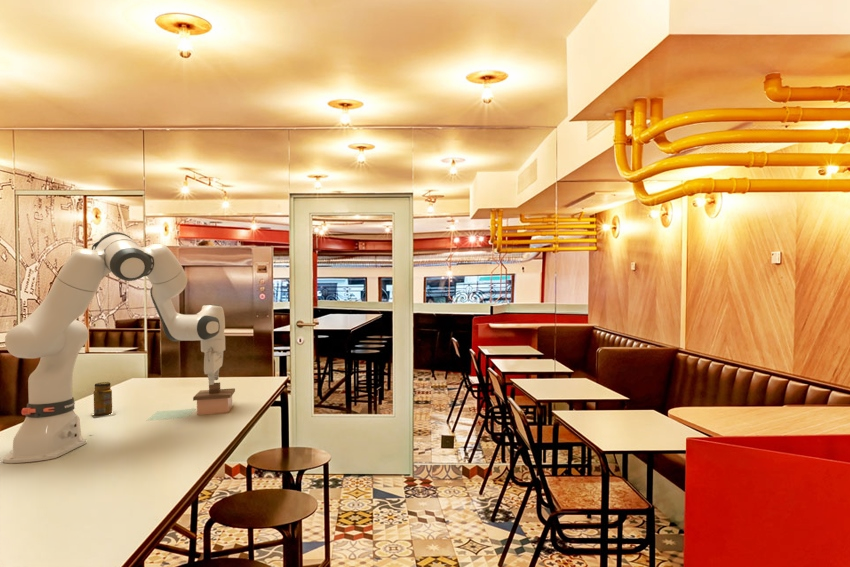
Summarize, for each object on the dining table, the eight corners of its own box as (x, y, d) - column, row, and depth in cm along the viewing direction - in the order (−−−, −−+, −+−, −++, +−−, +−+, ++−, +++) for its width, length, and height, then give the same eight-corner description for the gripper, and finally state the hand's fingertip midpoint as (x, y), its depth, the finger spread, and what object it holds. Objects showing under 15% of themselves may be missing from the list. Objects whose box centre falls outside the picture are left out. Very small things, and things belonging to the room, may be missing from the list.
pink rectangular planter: (228, 413, 200) (227, 397, 200) (197, 415, 198) (196, 399, 198) (232, 406, 211) (232, 391, 211) (203, 409, 209) (202, 393, 209)
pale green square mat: (187, 418, 194) (187, 417, 194) (146, 421, 191) (146, 420, 191) (196, 409, 208) (195, 408, 208) (157, 412, 205) (157, 411, 205)
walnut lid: (230, 398, 199) (229, 385, 199) (193, 400, 197) (192, 387, 197) (234, 391, 212) (234, 379, 212) (200, 393, 209) (200, 381, 209)
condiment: (112, 411, 209) (111, 380, 209) (116, 414, 202) (115, 383, 202) (90, 414, 204) (89, 383, 204) (93, 418, 198) (92, 386, 198)
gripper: (217, 349, 195) (218, 386, 195) (225, 343, 215) (226, 377, 215) (199, 350, 194) (199, 387, 194) (209, 343, 214) (209, 378, 214)
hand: (213, 382), depth 204 cm, fingers open, 8 cm apart
